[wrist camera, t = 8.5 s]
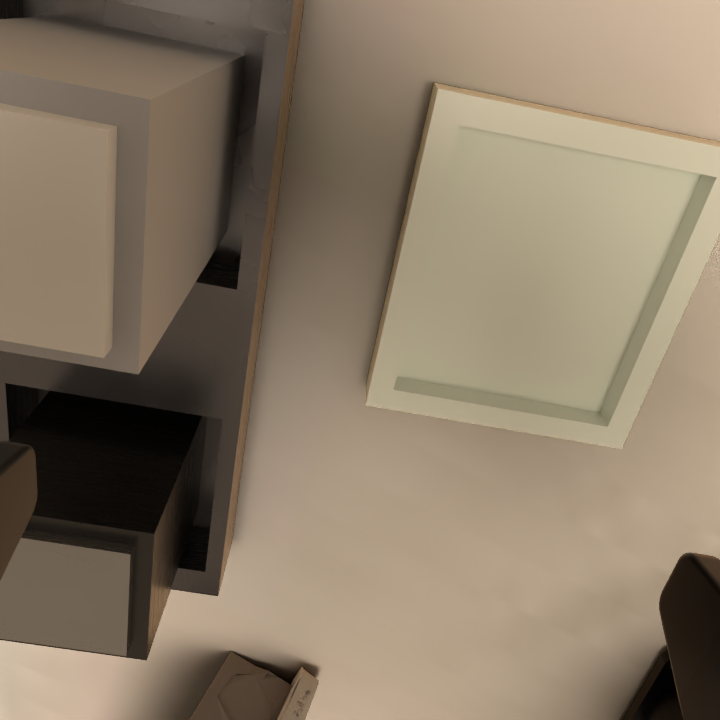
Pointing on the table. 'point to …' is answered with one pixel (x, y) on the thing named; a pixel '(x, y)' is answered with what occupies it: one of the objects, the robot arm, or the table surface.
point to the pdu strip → (153, 384)
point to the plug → (108, 184)
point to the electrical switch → (255, 694)
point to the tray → (541, 267)
